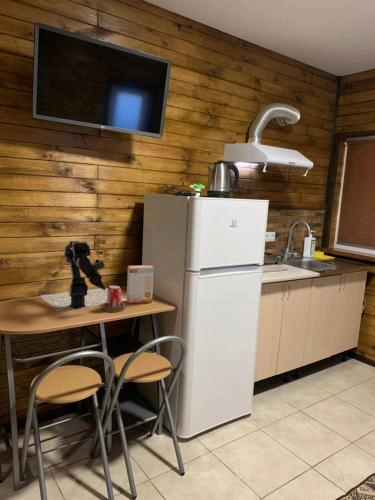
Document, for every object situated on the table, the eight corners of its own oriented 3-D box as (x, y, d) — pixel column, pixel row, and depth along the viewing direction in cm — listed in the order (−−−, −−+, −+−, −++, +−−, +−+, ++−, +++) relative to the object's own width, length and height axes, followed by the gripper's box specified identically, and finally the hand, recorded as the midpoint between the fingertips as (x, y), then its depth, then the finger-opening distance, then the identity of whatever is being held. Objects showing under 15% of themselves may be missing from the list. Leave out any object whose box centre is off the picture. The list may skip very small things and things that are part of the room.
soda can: (104, 307, 205) (105, 286, 204) (116, 306, 210) (117, 284, 208) (111, 311, 200) (112, 289, 198) (122, 309, 205) (123, 287, 203)
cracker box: (149, 299, 226) (151, 265, 223) (152, 302, 221) (154, 267, 218) (126, 300, 221) (127, 265, 218) (128, 303, 216) (129, 267, 213)
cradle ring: (113, 313, 197) (113, 308, 197) (99, 308, 204) (99, 303, 203) (128, 309, 206) (129, 304, 205) (115, 304, 212) (115, 300, 212)
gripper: (99, 257, 191) (118, 280, 196) (94, 252, 208) (112, 273, 213) (81, 272, 189) (101, 295, 194) (77, 266, 206) (96, 287, 211)
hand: (103, 287), depth 203 cm, fingers open, 9 cm apart
